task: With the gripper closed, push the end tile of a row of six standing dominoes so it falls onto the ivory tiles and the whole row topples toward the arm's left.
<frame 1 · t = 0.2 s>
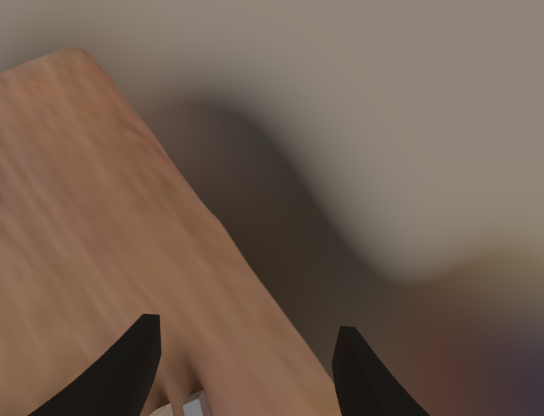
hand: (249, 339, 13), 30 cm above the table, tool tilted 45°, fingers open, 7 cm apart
domino 1: (202, 411, 37), on the table
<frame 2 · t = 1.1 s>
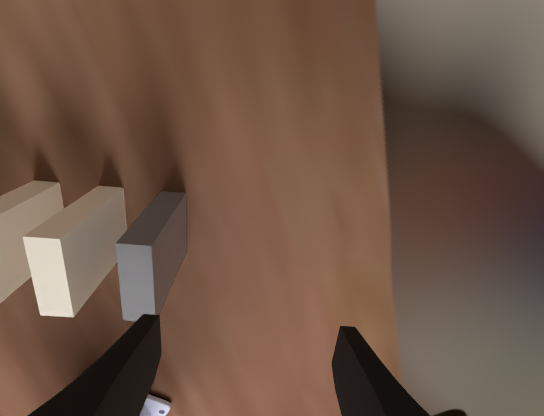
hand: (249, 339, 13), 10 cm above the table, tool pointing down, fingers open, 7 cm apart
domino 2: (114, 217, 22), on the table
domino 1: (174, 222, 22), on the table
domino 3: (52, 213, 21), on the table
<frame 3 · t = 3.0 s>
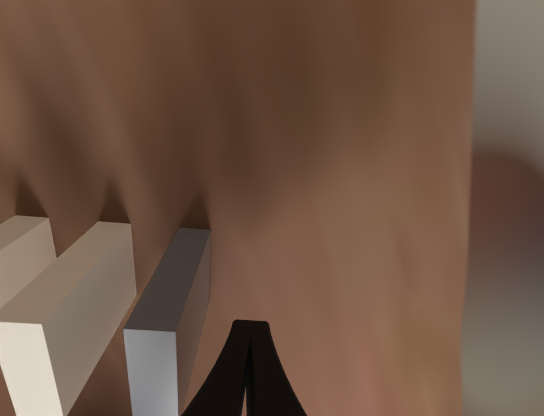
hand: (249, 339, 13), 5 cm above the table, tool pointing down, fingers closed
domino 2: (118, 260, 17), on the table
domino 1: (195, 265, 17), on the table
domino 3: (40, 254, 17), on the table
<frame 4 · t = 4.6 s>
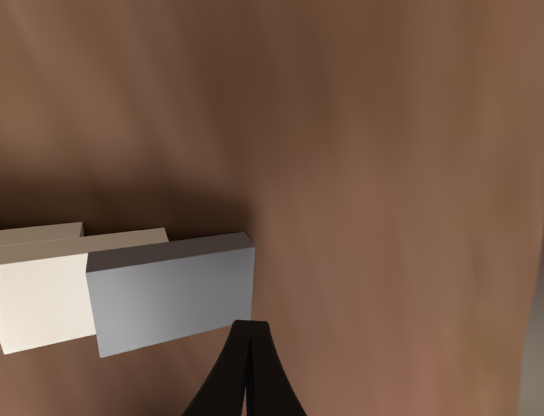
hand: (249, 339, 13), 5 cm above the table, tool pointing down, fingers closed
domino 2: (168, 272, 16), point 1 cm above the table, tilted 67°, touching domino 1, domino 3
domino 1: (247, 276, 17), point 1 cm above the table, tilted 67°, touching domino 2
domino 3: (87, 267, 16), point 1 cm above the table, tilted 66°, touching domino 2, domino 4
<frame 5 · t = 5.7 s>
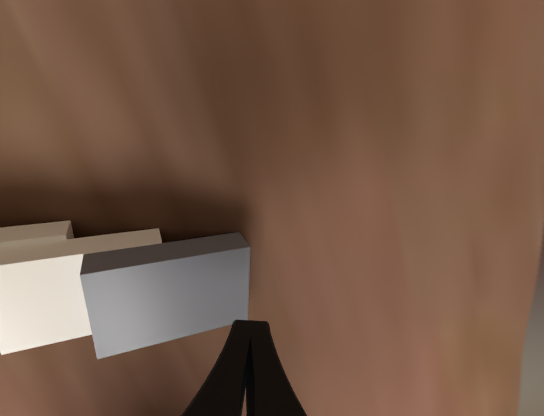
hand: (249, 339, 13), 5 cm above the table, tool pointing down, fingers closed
domino 2: (163, 273, 17), point 1 cm above the table, tilted 68°, touching domino 1, domino 3
domino 1: (243, 276, 17), point 1 cm above the table, tilted 67°, touching domino 2
domino 3: (76, 266, 16), point 1 cm above the table, tilted 68°, touching domino 2, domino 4
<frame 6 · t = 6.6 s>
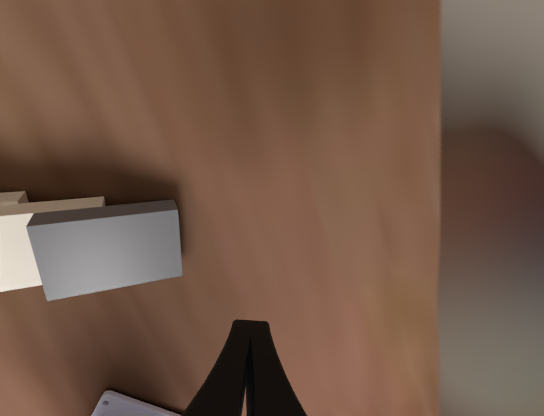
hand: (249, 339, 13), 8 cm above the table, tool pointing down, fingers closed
domino 2: (108, 235, 19), point 1 cm above the table, tilted 69°, touching domino 1
domino 1: (178, 237, 19), point 1 cm above the table, tilted 68°, touching domino 2
domino 3: (31, 230, 19), point 1 cm above the table, tilted 69°, touching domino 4
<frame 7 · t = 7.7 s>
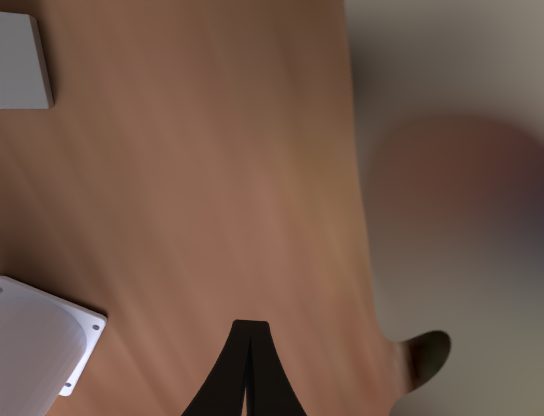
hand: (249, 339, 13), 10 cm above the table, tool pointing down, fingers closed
domino 1: (42, 64, 17), point 1 cm above the table, tilted 68°, touching domino 2
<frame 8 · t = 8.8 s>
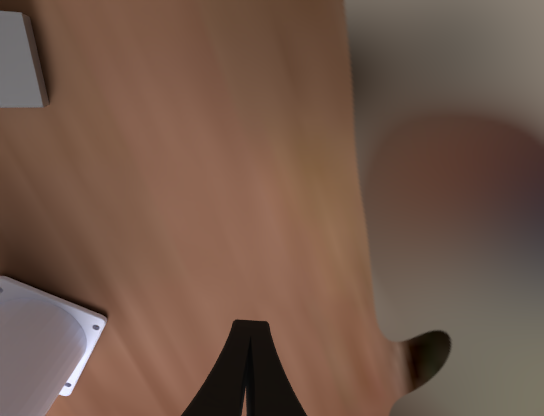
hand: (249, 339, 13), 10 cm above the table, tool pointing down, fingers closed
domino 1: (36, 62, 17), point 1 cm above the table, tilted 68°, touching domino 2
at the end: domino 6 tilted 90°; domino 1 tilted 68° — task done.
